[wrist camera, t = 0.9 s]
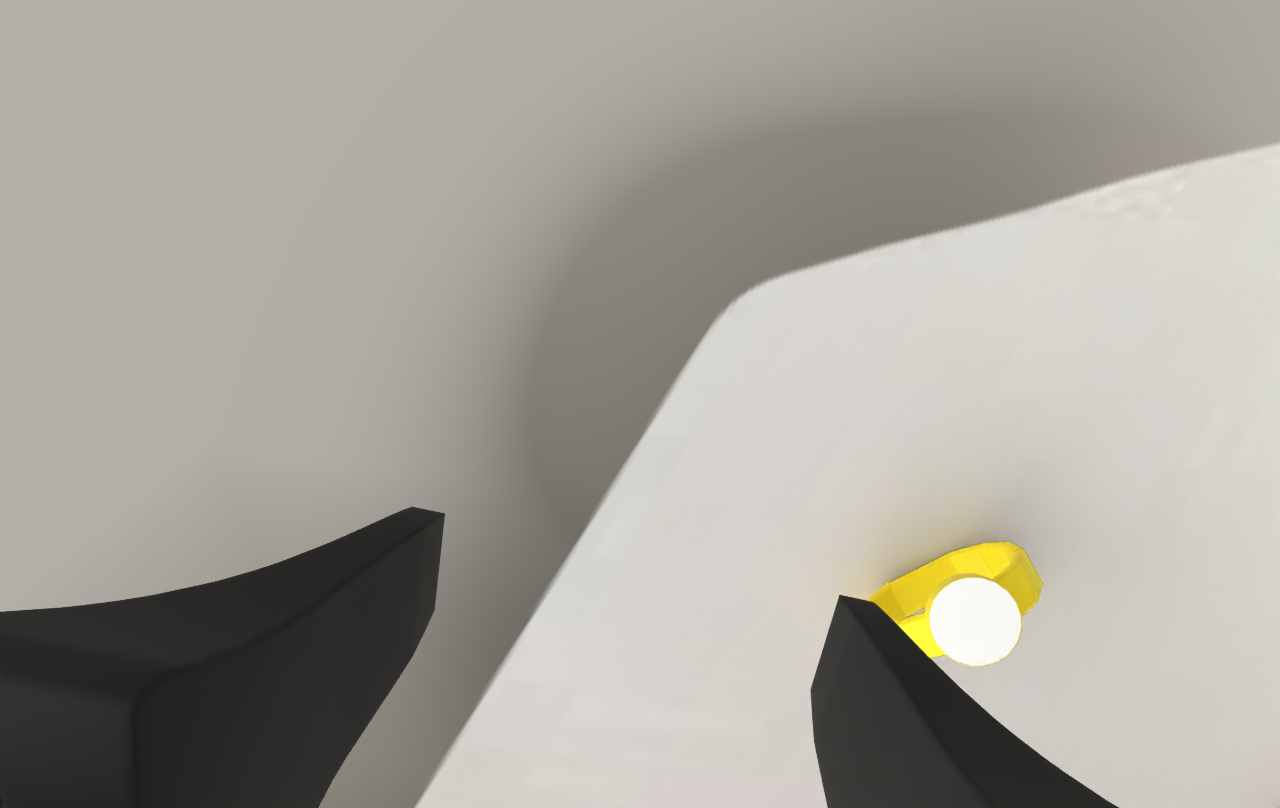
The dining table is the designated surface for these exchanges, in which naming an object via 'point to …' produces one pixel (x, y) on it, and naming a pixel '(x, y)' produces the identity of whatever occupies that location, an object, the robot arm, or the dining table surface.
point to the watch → (965, 602)
